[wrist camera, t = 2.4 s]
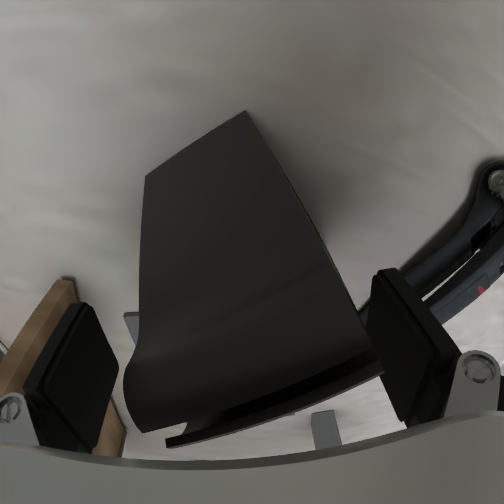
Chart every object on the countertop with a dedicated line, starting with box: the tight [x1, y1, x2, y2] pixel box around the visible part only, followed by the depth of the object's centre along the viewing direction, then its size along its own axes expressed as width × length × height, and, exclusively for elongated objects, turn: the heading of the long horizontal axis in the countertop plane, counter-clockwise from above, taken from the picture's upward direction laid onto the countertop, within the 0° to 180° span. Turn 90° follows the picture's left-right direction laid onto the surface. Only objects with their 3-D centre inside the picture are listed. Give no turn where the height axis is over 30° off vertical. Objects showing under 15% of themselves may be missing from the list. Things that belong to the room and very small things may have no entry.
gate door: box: [0, 279, 127, 458], centre depth 16 cm, size 19×3×14 cm, turn 176°
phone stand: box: [123, 111, 385, 448], centre depth 12 cm, size 9×6×12 cm, turn 31°
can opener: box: [359, 162, 504, 329], centre depth 16 cm, size 18×7×6 cm, turn 136°
